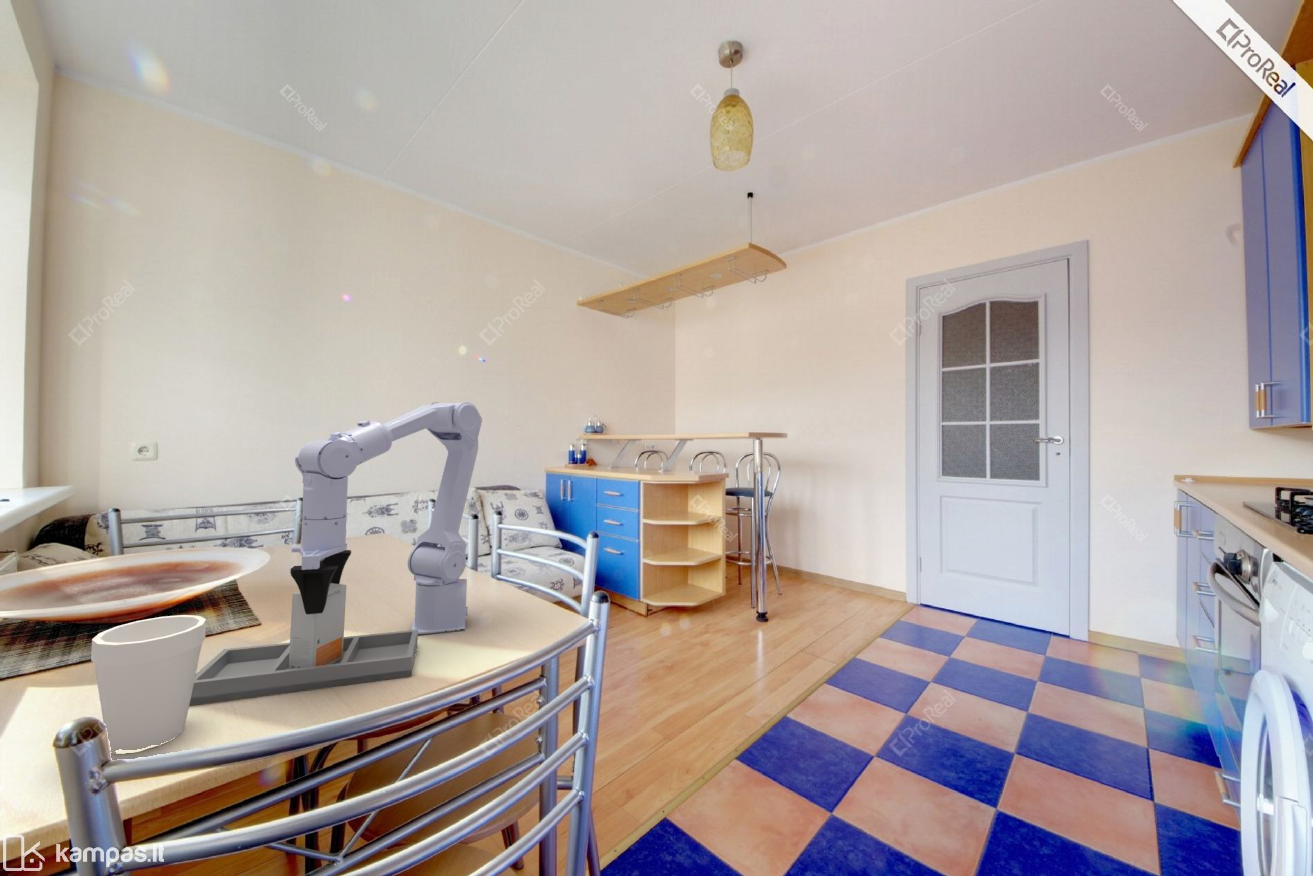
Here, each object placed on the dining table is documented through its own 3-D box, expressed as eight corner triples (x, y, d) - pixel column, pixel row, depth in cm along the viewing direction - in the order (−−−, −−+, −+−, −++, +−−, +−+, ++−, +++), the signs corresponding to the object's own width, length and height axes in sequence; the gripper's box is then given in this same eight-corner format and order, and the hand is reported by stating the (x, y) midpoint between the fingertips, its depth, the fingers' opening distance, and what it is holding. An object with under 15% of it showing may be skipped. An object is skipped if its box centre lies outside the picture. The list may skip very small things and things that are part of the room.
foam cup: (171, 710, 64) (175, 611, 65) (220, 724, 62) (224, 620, 62) (67, 753, 55) (72, 637, 55) (119, 771, 53) (124, 650, 53)
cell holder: (417, 646, 86) (417, 629, 86) (410, 676, 75) (411, 656, 75) (223, 668, 76) (224, 649, 76) (183, 706, 65) (184, 684, 65)
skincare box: (312, 676, 72) (315, 595, 73) (287, 673, 73) (290, 593, 73) (344, 658, 78) (347, 583, 79) (321, 656, 79) (324, 581, 79)
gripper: (307, 511, 81) (304, 593, 81) (277, 525, 68) (273, 624, 68) (356, 510, 84) (354, 589, 84) (336, 524, 71) (333, 618, 70)
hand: (321, 604), depth 76 cm, fingers open, 7 cm apart
